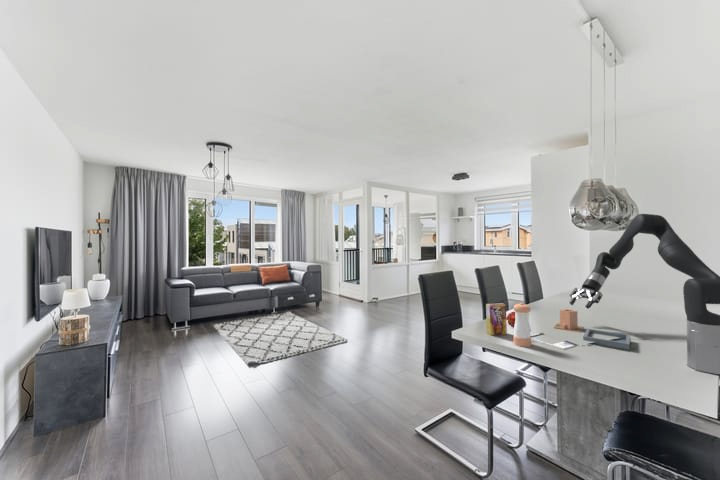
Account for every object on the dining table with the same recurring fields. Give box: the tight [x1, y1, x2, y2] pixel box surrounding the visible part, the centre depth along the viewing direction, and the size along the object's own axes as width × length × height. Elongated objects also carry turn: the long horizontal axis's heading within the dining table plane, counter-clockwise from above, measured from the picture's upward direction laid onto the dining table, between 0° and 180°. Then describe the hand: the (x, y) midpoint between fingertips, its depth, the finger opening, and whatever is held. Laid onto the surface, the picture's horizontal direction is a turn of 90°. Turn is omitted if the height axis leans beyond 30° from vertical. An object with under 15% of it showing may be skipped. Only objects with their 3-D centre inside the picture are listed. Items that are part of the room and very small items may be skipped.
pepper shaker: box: [512, 302, 532, 348], centre depth 140 cm, size 7×7×19 cm
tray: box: [582, 328, 631, 352], centre depth 141 cm, size 16×16×3 cm
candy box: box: [485, 302, 508, 336], centre depth 156 cm, size 9×4×15 cm, turn 96°
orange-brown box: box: [559, 308, 579, 330], centre depth 159 cm, size 5×7×9 cm
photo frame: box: [530, 332, 579, 350], centre depth 144 cm, size 15×1×18 cm
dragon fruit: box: [506, 311, 515, 327], centre depth 168 cm, size 8×8×12 cm
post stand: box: [553, 322, 585, 334], centre depth 159 cm, size 12×12×8 cm
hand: (578, 305), depth 161 cm, fingers open, 8 cm apart
